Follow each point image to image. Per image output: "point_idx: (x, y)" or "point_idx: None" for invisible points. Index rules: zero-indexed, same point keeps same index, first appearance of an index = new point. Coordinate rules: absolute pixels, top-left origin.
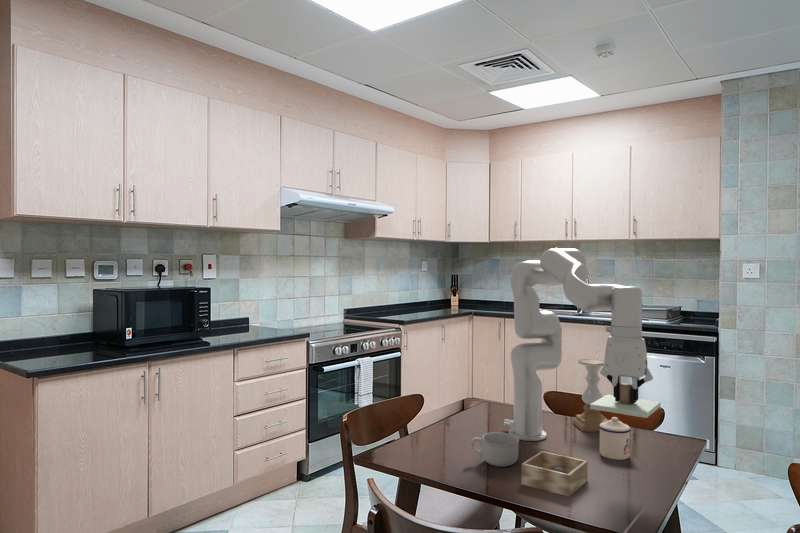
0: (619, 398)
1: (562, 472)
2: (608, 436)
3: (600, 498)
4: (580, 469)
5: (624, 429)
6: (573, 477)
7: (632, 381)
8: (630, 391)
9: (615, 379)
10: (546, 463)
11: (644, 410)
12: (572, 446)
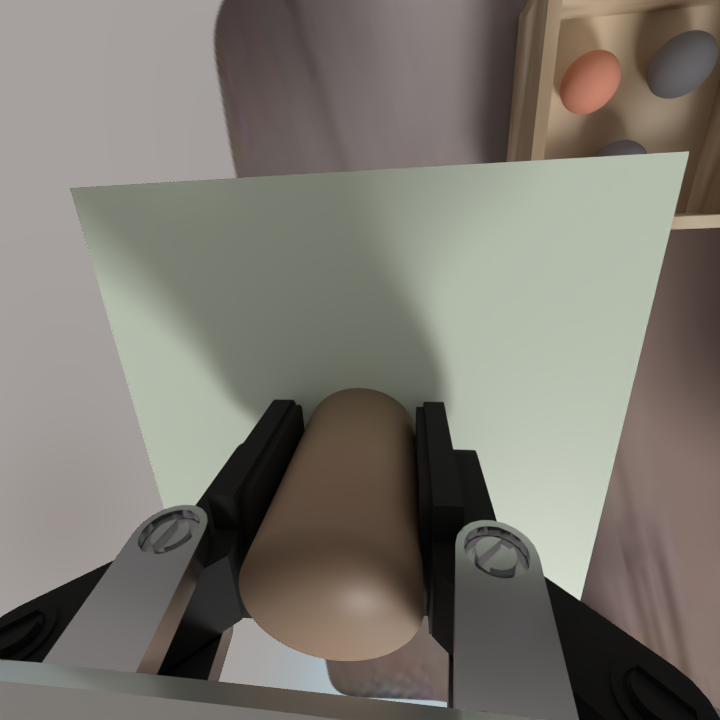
0: (408, 436)
1: (603, 156)
2: None
3: (424, 123)
4: (529, 138)
5: None
6: (537, 37)
7: (153, 607)
8: (257, 473)
9: (489, 635)
10: (692, 214)
11: (136, 283)
12: (625, 517)
